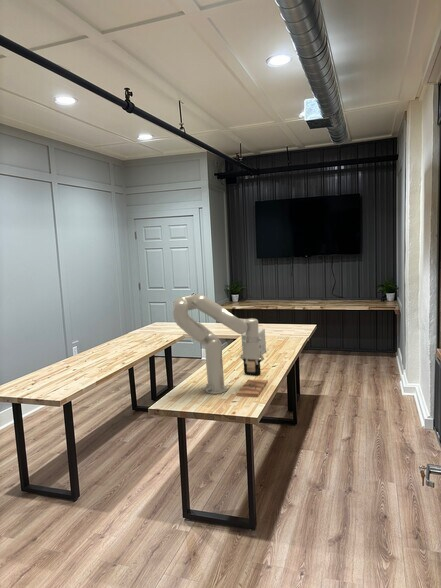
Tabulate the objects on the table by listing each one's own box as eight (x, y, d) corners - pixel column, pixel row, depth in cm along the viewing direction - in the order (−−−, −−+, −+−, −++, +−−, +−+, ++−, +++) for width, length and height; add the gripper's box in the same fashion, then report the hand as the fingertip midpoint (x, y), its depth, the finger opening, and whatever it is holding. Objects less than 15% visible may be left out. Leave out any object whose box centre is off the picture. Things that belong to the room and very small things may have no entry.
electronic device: (248, 372, 276) (247, 357, 275) (260, 374, 270) (259, 359, 268) (244, 374, 273) (243, 359, 272) (257, 376, 266) (256, 360, 265)
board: (257, 397, 231) (257, 394, 230) (236, 395, 235) (236, 393, 234) (267, 382, 253) (267, 380, 253) (248, 381, 257) (248, 379, 257)
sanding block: (254, 372, 244) (254, 362, 243) (247, 371, 245) (246, 361, 245) (257, 369, 251) (257, 359, 250) (250, 368, 252) (250, 358, 251)
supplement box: (250, 350, 330) (248, 328, 328) (266, 351, 324) (265, 328, 322) (242, 356, 314) (240, 333, 312) (258, 357, 309) (257, 333, 307)
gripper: (267, 339, 247) (267, 369, 249) (239, 337, 252) (240, 367, 254) (264, 342, 240) (264, 373, 242) (236, 340, 245) (236, 371, 247)
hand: (252, 370), depth 248 cm, fingers closed on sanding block, 4 cm apart
